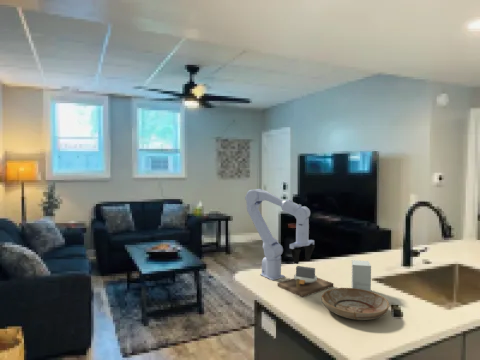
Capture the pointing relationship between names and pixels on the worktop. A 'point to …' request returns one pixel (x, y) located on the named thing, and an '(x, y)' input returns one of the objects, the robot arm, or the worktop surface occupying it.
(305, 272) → the flange disc
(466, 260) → the worktop surface
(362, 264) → the supplement box
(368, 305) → the ceramic bowl
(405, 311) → the worktop surface
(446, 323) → the worktop surface
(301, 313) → the worktop surface
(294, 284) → the walnut base
